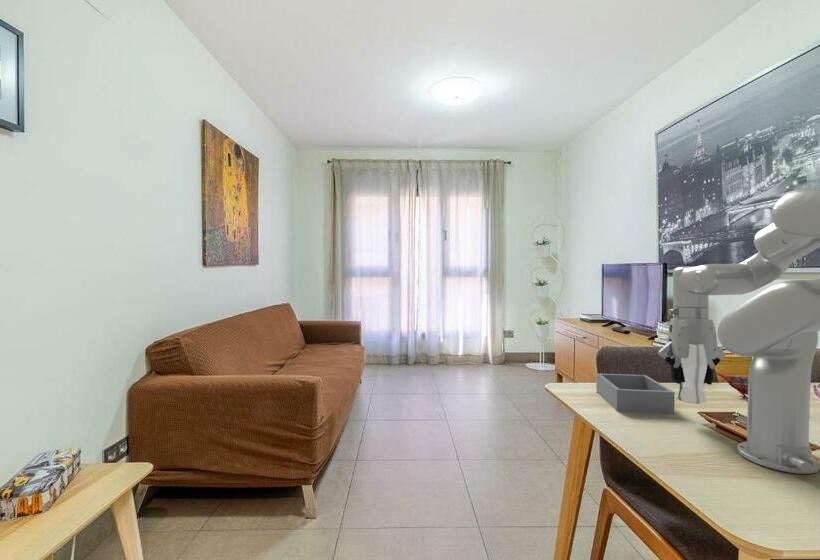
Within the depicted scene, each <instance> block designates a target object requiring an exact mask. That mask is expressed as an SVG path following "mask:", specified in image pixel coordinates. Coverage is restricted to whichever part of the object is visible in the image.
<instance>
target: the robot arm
mask: <svg viewBox="0 0 820 560" xmlns="http://www.w3.org/2000/svg"><path fill="white" fill-rule="evenodd" d="M771 221H772V222H770V224H768V225H766V226H765V227H763V228H762V229H760V230H759V231H757V232H756V233H755V235H754V238H753V244H754V246H755V248H756V250H757V253H755V254H754V255H752V256H751V257H749V258H747V259H745V260H744V261H741V262H739V263H706V264H700V265H697V266H695V265H691V266H688V265H687V266H678V267H675V268H673V272H672V293H673V294H672V304H673V306H672V308H671V309H670V308H669V309H668V310H667V314H668V315H671V316H672V318H670V321H669V325H668V331H667V341H666V344H664V346H663V347H661V348H660V349H659V350H658V351H657V354H658V355H659V356H660V358H662V359H663V361H665V362H666V363H667V364H668V366H670V377H671V380H672V382H673V383H676V384H678V385H679V384H681V368H679V365H680V363H681V360H680V358H685V359H686V358H688V356H689V349H690V347H689V344H704V349H705V354H706V358H707V359H708V367H707V374H706V379H705V384H706V385H709V386H711V385H713V378H714V377H713V376H714V375H713V374H714V372H713V371H714V369H716V366H717V365H718V364H719V363H720V362H721V361H722V360H723V359H724V358H725V357H726V356H727V353H726V352H725V351H724V350H722V349H721V348H720V347H719V346H718V341H719V343H720V345H721V346H722V347H723V348H724V349H725V350H726V351H728V352H729V353H731V354H733V355H735V356H739V357H745V358H747V357H748V358H752V360H751V362H750V364H749V369H748V374H747V375H748V395H747V397H748V400H747V419H746V420H747V425H746V441H742V442H739V443H738V444H737V445H736V446H737V452H738V454H739V455H740V456H742V458H745V459H746V460H748V461H749V462H753V463H754V464H757V465H760V466H761V467H762V466H763V467H766V468H769V469H772V470H776V471H780V472H785V473H791V474H800V475H807V474H808V475H810V474H815V473H818V472H819V470H820V462H819V461H817V460H816V459H815V458H814V457H812V454H813V453H812V448H810V447H809V446H810V444H809V443H810V408H811V407H810V406H811V405H810V404H811V403H810V402H811V379H812V377H811V376H812V368H813V363H814V357H815V354H816V352H817V347H818V343H819V332H820V278H817V279H795V280H794V279H792V280H787V281H782V282H779V283H775V284H774V285H771V286H768V288H767V287H766V289H764V290H762V291H761V292H759V293H758V294H756V295H754V296H752V298H750V299H748V300H747V301H745V302H743V303H742V304H740V305H738V306H737V307H736V308H734V309H733V310H731V311H729V312H728V313H727V314H725V316H724V317H722V319H721V320H720V322H719V324H718V327H717V332H716V328H715V324H714V321H713V319H710V315H709V314H710V312H709V309H710V308H709V306H710V305H709V302H710V301H709V300H710V299H709V296H722V295H723V296H724V295H725V296H727V295H728V296H729V295H730V296H737V295H739V296H740V295H741V296H742V295H744V294H745V295H746V294H749V293H752V292H754V291H756V290H759V289H761V288H762V287H765V286H767V285H769V284H771V283H773V282H774V281H776V280H778V279H779V278H781V277H782V275H784V273H786V271H787V270H788V268H789V267H790V265H791V263H794V262H795V261H796V260H798V259H800V258H802V257H804V256H806V255H807V254H810V253H811V252H813V251H815V250H818V249H819V248H820V187H813V186H812V187H811V186H810V187H809V186H808V187H801V188H796V189H794V190H792V191H790V192H787V193H786V194H785V195H783V196H781V197H780V198H779V199H778V200H777V201H776V202H775V204H774V205H773V208H772V210H771ZM717 338H718V339H717ZM668 354H669V355H670V356H671V357H670V356H669V355H668ZM675 357H676V359H675Z"/></svg>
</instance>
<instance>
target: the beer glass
mask: <svg viewBox="0 0 820 560" xmlns="http://www.w3.org/2000/svg"><path fill="white" fill-rule="evenodd" d="M689 347H690V349H689V356H688V358H686V359H685V358H680V360H681V363H680V365H679V368H681V384H678V385H679V391H678V395H677V399H678V401H681V402H684V403H689V404H694V405H695V404H696V405H704V404H707V398H706V393H705V384H706V383H705V379H706V374H707V367H708V359H707V358H706V354H705V349H704V344H689ZM675 359H676V357H675Z"/></svg>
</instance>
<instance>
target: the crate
mask: <svg viewBox="0 0 820 560" xmlns="http://www.w3.org/2000/svg"><path fill="white" fill-rule="evenodd" d="M596 391H597V392H598V393H599V394H600V395H601V397H602V398H603V400H605V401H606V403H607V404H608V405H610V406H611V408H613V409H614V410H615V411H616V412H628V413H629V412H631V413H633V412H634V413H635V412H636V413H649V412H650V413H652V414H653V413H655V414H675V397H676V396H675V391H673V390H672V389H670V388H668V387H666V386H665V385H663V384H661V382H658V381H656V380H654V379H653V378H651V377H649V376H648V375H647V374H644V375H643V374H622V373H621V374H619V373H596ZM597 392H596V393H597ZM598 393H597V394H598ZM599 394H598V395H599Z"/></svg>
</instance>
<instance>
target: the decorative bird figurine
mask: <svg viewBox="0 0 820 560" xmlns="http://www.w3.org/2000/svg"><path fill="white" fill-rule="evenodd" d="M714 373H715V374H716V375H717V376H719V377H721V378H722V379H724V380H725V381H726V382H727V384H729V386H730V387H731V388H733V389H735V391H737V392H738V393H740V395H739V397H741V399H745V400H747V401H748V375H749V374H744V375H743V374H739V375H738V374H737V375H729V376H728V375H725V374H722V373H720V372H717V371H715V370H713V374H714Z"/></svg>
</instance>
